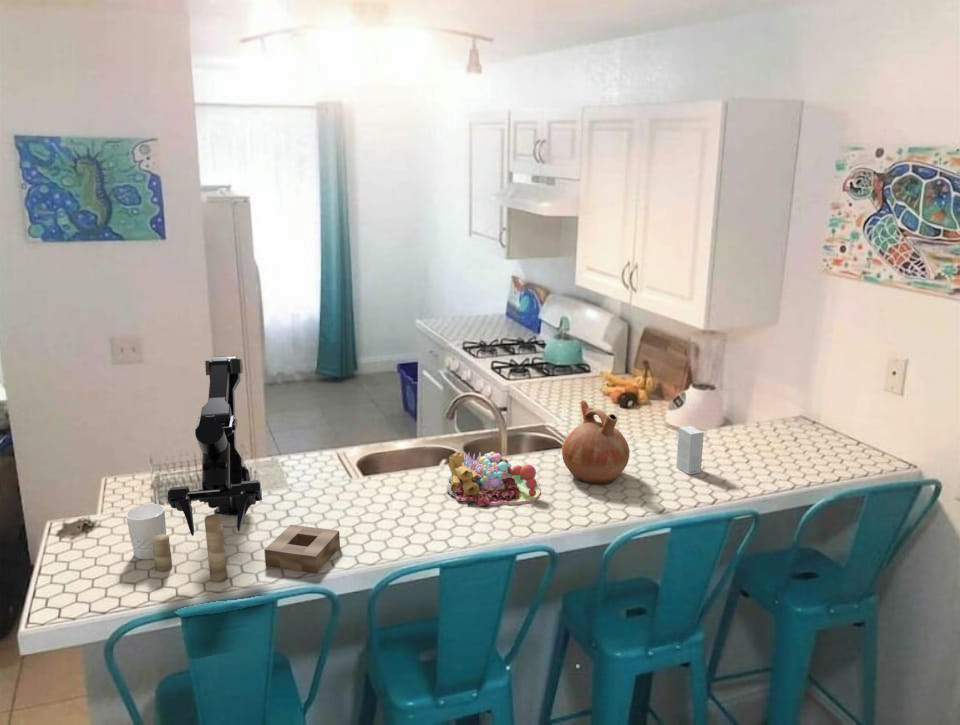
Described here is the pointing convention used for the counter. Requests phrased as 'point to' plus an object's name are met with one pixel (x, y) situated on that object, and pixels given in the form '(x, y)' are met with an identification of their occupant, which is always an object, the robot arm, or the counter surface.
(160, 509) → the white cup
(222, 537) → the tall oak dowel
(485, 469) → the candy landscape model
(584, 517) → the counter surface
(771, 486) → the counter surface
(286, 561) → the walnut socket block
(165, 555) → the short oak dowel
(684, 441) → the skincare box
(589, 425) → the jug
